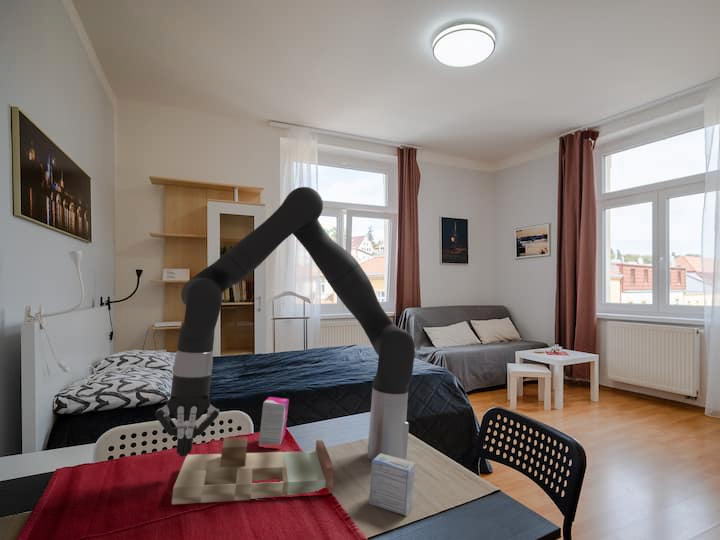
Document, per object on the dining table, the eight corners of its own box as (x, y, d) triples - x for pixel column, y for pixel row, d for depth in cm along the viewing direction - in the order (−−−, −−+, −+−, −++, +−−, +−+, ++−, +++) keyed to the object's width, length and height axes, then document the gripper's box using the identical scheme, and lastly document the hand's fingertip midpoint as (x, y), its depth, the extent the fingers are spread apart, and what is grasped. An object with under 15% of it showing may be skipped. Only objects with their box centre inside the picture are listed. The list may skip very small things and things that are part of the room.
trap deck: (320, 463, 91) (322, 440, 92) (331, 495, 78) (334, 467, 78) (185, 468, 84) (188, 443, 84) (171, 504, 70) (174, 473, 70)
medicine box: (413, 506, 76) (416, 462, 77) (406, 517, 72) (409, 470, 73) (376, 494, 80) (379, 452, 80) (368, 504, 75) (371, 459, 76)
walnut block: (245, 455, 86) (247, 437, 86) (245, 466, 81) (246, 446, 81) (222, 456, 84) (224, 438, 85) (220, 467, 80) (222, 447, 80)
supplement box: (280, 450, 97) (284, 404, 98) (257, 448, 97) (261, 402, 98) (285, 441, 103) (289, 398, 104) (263, 439, 103) (267, 396, 104)
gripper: (227, 368, 86) (218, 447, 85) (163, 366, 83) (153, 448, 82) (224, 376, 79) (215, 462, 78) (154, 374, 76) (143, 464, 75)
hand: (183, 454), depth 80 cm, fingers closed
